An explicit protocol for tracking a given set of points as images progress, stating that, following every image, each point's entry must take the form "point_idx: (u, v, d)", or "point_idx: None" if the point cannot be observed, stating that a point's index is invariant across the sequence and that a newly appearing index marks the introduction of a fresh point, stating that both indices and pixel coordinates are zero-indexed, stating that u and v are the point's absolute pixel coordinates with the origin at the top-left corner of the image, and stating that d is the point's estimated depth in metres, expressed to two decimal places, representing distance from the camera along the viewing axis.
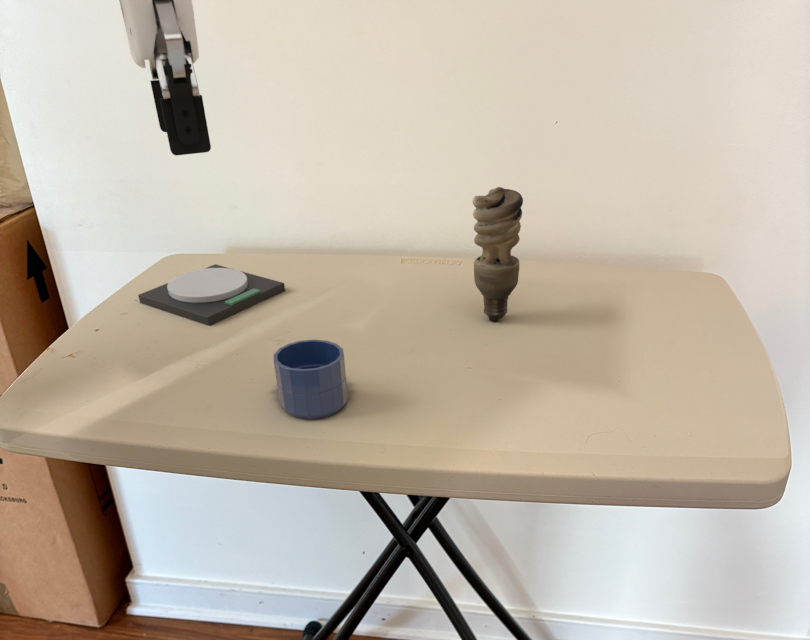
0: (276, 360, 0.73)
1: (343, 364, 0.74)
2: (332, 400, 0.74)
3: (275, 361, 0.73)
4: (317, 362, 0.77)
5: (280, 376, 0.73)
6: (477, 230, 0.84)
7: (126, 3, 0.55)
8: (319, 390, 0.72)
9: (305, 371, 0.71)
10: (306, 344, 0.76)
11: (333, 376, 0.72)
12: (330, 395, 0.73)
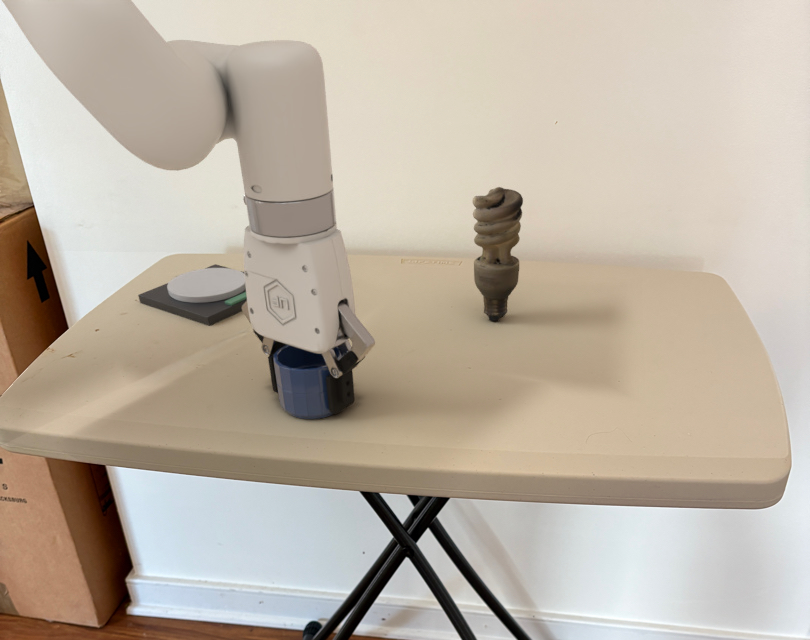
0: (276, 360, 0.73)
1: None
2: None
3: (275, 361, 0.73)
4: (317, 362, 0.77)
5: (280, 376, 0.73)
6: (477, 230, 0.84)
7: (319, 312, 0.66)
8: (319, 390, 0.72)
9: (305, 371, 0.71)
10: None
11: None
12: None
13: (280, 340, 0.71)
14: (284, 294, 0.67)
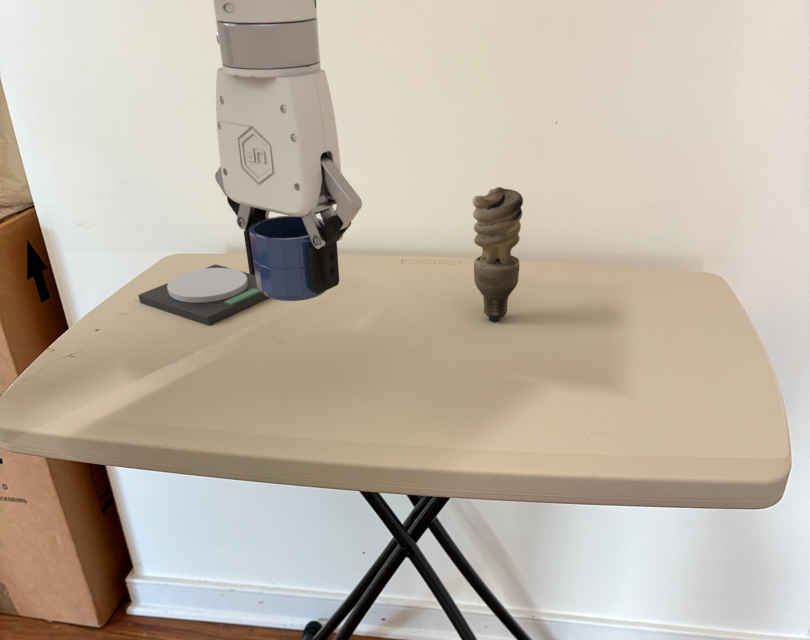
0: (252, 231, 0.65)
1: None
2: None
3: (251, 232, 0.65)
4: None
5: (256, 248, 0.65)
6: (477, 230, 0.84)
7: (299, 163, 0.59)
8: (299, 265, 0.65)
9: (284, 240, 0.64)
10: (287, 220, 0.69)
11: None
12: None
13: (256, 204, 0.63)
14: (260, 145, 0.60)
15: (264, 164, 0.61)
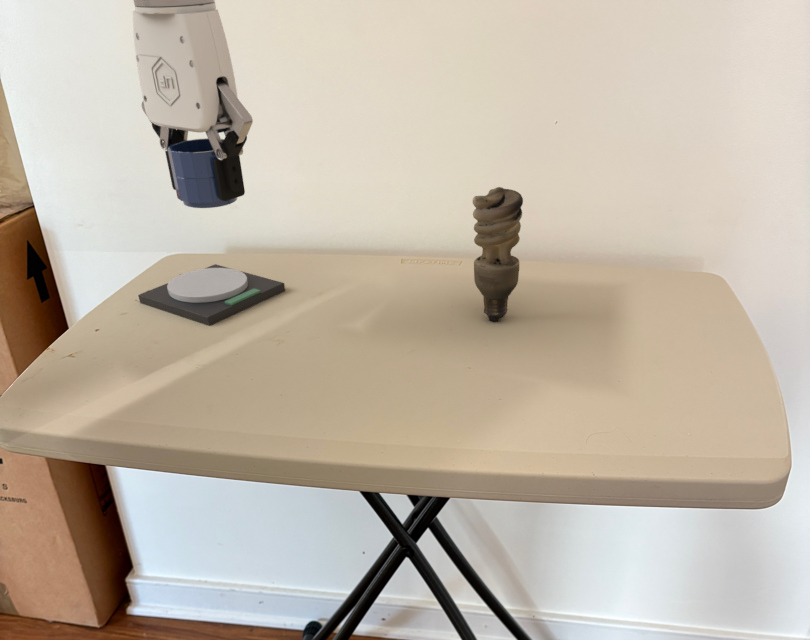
0: (170, 148, 0.79)
1: None
2: None
3: (168, 149, 0.79)
4: None
5: (173, 162, 0.79)
6: (477, 230, 0.84)
7: (197, 85, 0.72)
8: (208, 175, 0.79)
9: (194, 153, 0.77)
10: (202, 142, 0.82)
11: None
12: None
13: (170, 124, 0.77)
14: (168, 72, 0.74)
15: (172, 88, 0.74)
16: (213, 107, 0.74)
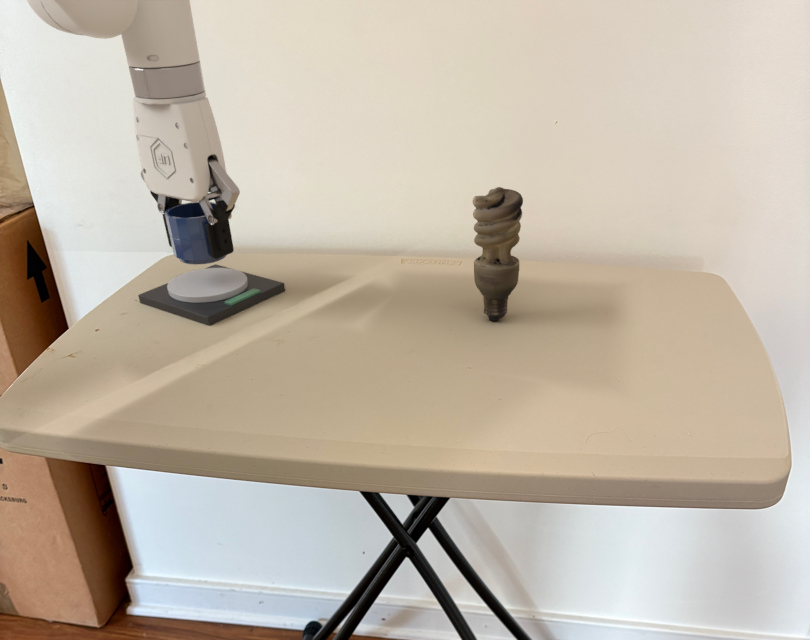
0: (167, 213, 0.90)
1: None
2: None
3: (166, 214, 0.90)
4: None
5: (170, 226, 0.90)
6: (477, 230, 0.84)
7: (191, 163, 0.83)
8: (201, 237, 0.89)
9: (188, 219, 0.88)
10: (195, 205, 0.93)
11: None
12: None
13: (167, 194, 0.88)
14: (165, 151, 0.84)
15: (169, 165, 0.85)
16: (205, 181, 0.85)
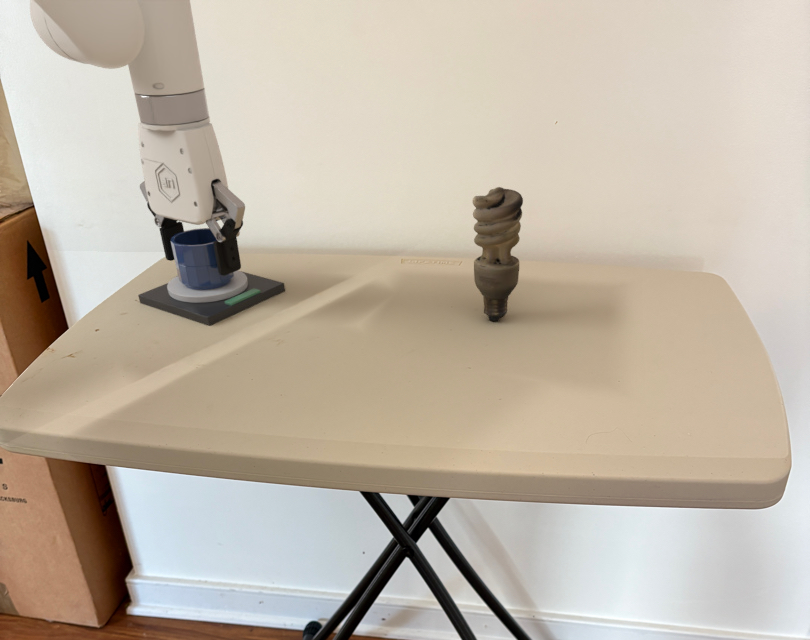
0: (172, 240, 0.92)
1: None
2: (218, 273, 0.93)
3: (171, 241, 0.92)
4: None
5: (175, 253, 0.92)
6: (477, 230, 0.84)
7: (195, 188, 0.85)
8: (206, 263, 0.91)
9: (193, 246, 0.90)
10: (200, 232, 0.95)
11: None
12: (216, 269, 0.92)
13: (171, 216, 0.89)
14: (170, 175, 0.86)
15: (173, 188, 0.87)
16: (208, 205, 0.86)
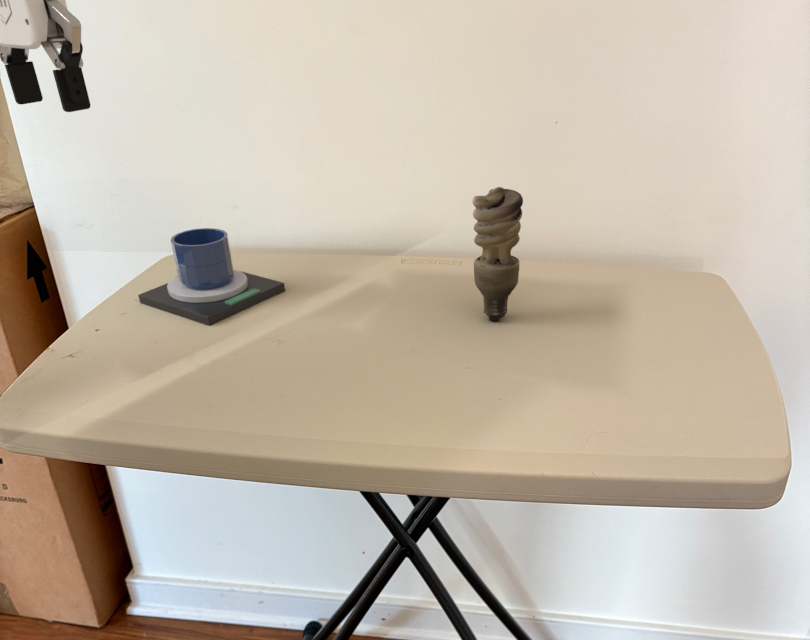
0: (172, 240, 0.92)
1: (227, 244, 0.93)
2: (218, 273, 0.93)
3: (171, 241, 0.92)
4: None
5: (175, 253, 0.92)
6: (477, 230, 0.84)
7: (24, 1, 0.77)
8: (206, 263, 0.91)
9: (193, 246, 0.90)
10: (200, 232, 0.95)
11: (217, 252, 0.91)
12: (216, 269, 0.92)
13: (8, 43, 0.82)
14: None
15: (5, 6, 0.79)
16: (42, 23, 0.79)
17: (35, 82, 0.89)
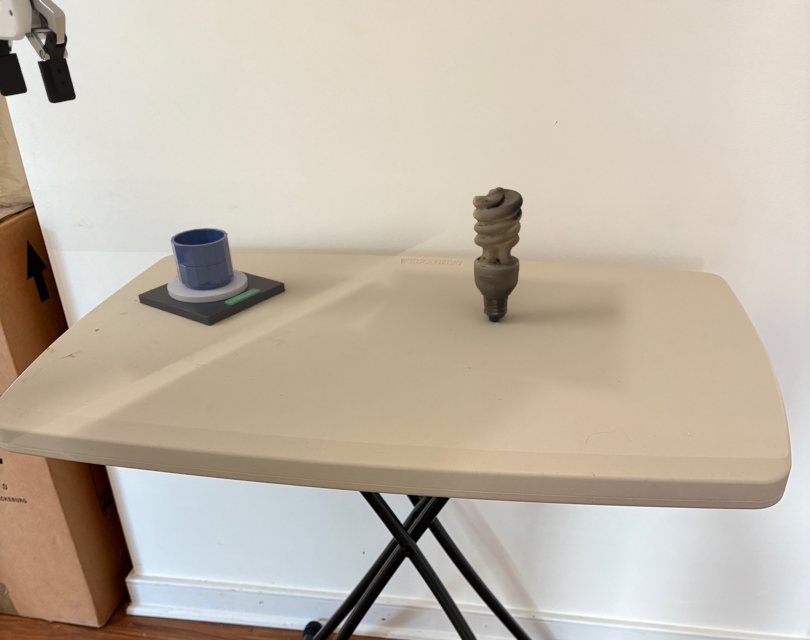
0: (172, 240, 0.92)
1: (227, 244, 0.93)
2: (218, 273, 0.93)
3: (171, 241, 0.92)
4: None
5: (175, 253, 0.92)
6: (477, 230, 0.84)
7: None
8: (206, 263, 0.91)
9: (193, 246, 0.90)
10: (200, 232, 0.95)
11: (217, 252, 0.91)
12: (216, 269, 0.92)
13: None
14: None
15: None
16: (26, 14, 0.79)
17: (19, 74, 0.89)
